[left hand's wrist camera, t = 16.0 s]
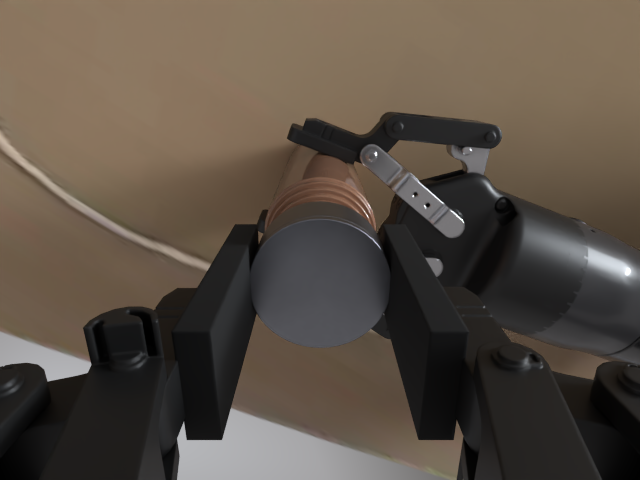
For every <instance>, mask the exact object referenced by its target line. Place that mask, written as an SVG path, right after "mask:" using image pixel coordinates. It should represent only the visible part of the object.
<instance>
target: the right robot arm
mask: <svg viewBox="0 0 640 480" xmlns="http://www.w3.org/2000/svg"><path fill="white" fill-rule="evenodd" d="M501 138H502V132H501V130H500V128H499V127H497V126H496V125H492V124H488V123H484V122H480V121H474V120H464V119H455V118H445V117H435V116H426V115H416V114H407V113H397V112H387V113H385V114H384V115H383V116H382V117H381V118H380V121H379V122H378V123H377V124H376V126H375V127H374V128H373V129H372V130H371V131H370V132H369V133H367V134H364V135H358V134H355V133H352V132H350V131H347V130H344V129H342V128H339V127H337V126H334V125H332V124H329V123H327V122H324V121H322V120H319V119H317V118H307V119H306V121H305V123H304V126H300V125H298V124H294V123H293V124H292V125H291V128H290V131H289V134H288V137H287V139H288V140H290V141H292V142H294V143H297V144H300V145H302V146H305V147H307V148H310V149H313V150H315V151H318V152H320V153H323V154H326V155H328V156H331V157H334V158H337V159H339V160H341V161H344V162H346V163H349V164H352V165H353V164H354V162H355V161H356V162H359V163H362V164H363V165H364V166H366V167H367V168H368V169H369V170H370V171H371V172H373V173H374V174H375V175H376V176H377V177H379V178H380V179H381V180H382V181H383V182H384V183H386V184H387V185H388V186H389V187H390V188H391V189H392V190H393V191H394V192H395V193H396V194H395V196H394V198H393V200H392V203H391V209H390V215H389V217H388V218H387V219H386V220H385V221H384V223H383V224H405V225H406V227H407V228H408V230H409V232H410V233H411V235H412V237H413V238H414V240H415V242H416V243H417V245H418V247H419V248H420V250H421V252H422V253H423V255H424V257H425V258H426V260H427V262H428V263H429V265H430V267H431V268H432V270H433V272H434V273H435V275H436V277H437V278H438V280H439V282H440V283H441V285H442V287H464V288H466V289H467V290H469V291H471V292H472V293H474V294H475V295H477V296H478V297H479V299H480V300H481V301H482V303H483V304H484V305H485V308H487V310H488V311H489V312H490V314H491V317H493V318H494V319H495V320H496V322H497V323H498V324H499V326H500V327H501V328H504V329H507V330H510V331H513V332H516V333H519V334H522V335H524V336H527V337H530V338H533V339H536V340H539V341H542V342H545V343H548V344H551V345H554V346H557V347H561V348H565V349H571V350H577V351H581V352H585V353H589V354H592V355H595V356H598V357H601V358H603V359H606V360H609V361H619V362H630V363H635V364H637V365H640V250H638V249H636V248H633V247H631V246H629V245H627V244H626V243H624V242H622V241H621V240H619V239H617V238H616V237H614V236H612V235H610V234H608V233H606V232H604V231H601V230H599V229H596V228H594V227H591V226H589V225H587V224H586V223H584V222H583V221H581V220H578V219H575V218H570V217H569V218H568V217H566V216H563V215H561V214H558V213H556V212H553V211H551V210H548V209H545V208H543V207H540V206H538V205H535V204H533V203H530V202H528V201H525V200H523V199H520V198H518V197H515V196H512V195H510V194H507V193H505V192H502V191H500V190H498V189H496V188H495V187H494V186H493V185H492V183H491V182H490V180H489V179H488V178H487V177H486V176H484V171H485V167H486V163H487V159H488V154H489V150H490V149H491V148H494V147H496V146H497V145H498V144H499V143H500V141H501ZM398 140H406V141H415V142H425V143H435V144H445V145H446V149H447V152H448V154H449V155H450V156H452V157H454V158H456V159H458V160H460V161H461V163H462V170H458V171H454V172H450V173H447V174H443V175H439V176H435V177H431V178H427V179H423V180H420V181H419V180H418V179H417V178H416V177H415V176H414V175H413V174H411V173H410V172H409V171H408V170H407V169H406V168H405V167H403V166H402V165H401V164H400V163H399V162H398V161H396V160H395V159H394V158H393V157H392V156H391V155H389V154H388V153H387V152H388V151H389V150H390V149H391V148H392V147H393V146H394V145H395V144H396V143H397V141H398ZM267 213H268V210H262V213H261V215H260V217H259V220H258V223H257V224H258V231H259V232H261V233H264V232H265V220H266V216H267ZM383 224H382V225H381V227H380V229H379V231H378V233H377V235H378V237H379V239H380V242H381V244H382V232H383ZM371 329H372V330H374V331H375V332H377V333H378V334H380V335H381V336H383V337H385V338H387V339H391V338H390V334H389V330H388V327H387V323H386V319H385V316H384V313H383V315H382V317H381V318H380V319H379V321H378V322H377V323H376V324H375V325H374V326H373V327H372V328H371Z"/></svg>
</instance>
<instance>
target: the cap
mask: <svg viewBox="0 0 640 480" xmlns="http://www.w3.org/2000/svg"><path fill="white" fill-rule="evenodd" d="M390 275H391V269H390V266H389V263H388V260H387V257H386V255H385V252H384V249H383V247H382V244H381V242H380V239H379V237H378V235H377V233H376V231H375V230H374V228H373V227H372V225H371V224H370V223H369V222H368V221H367V220H366V219H365V218H364V217H363V216H361V215H360V214H359V213H357V212H356V211H354V210H353V209H350V208H348V207H346V206H344V205H340V204H337V203H332V202H322V201H318V202H308V203H304V204H300V205H297V206H294V207H292V208H290V209H288V210H286V211H285V212H283V213H282V214H280V215H279V216H278V217H277V218H276V219H274V220H273V221H272V223H271V224H270V225H269V226H268V227H267V229H266V231H265V232H264V234H263V236H262V238H261V240H260V243H259V246H258V248H257V251H256V254H255V256H254V259H253V262H252V265H251V268H250V284H251V299H252V304H253V306H254V309H255V311H256V313H257V314H258V316H259V317H260V319H261V320H262V321H263V322H264V324H265V325H266V326H267V327H268V328H269V329H271V330H272V331H273V332H274V333H276V334H277V335H278V336H280V337H282V338H284V339H285V340H287V341H290V342H292V343H295V344H298V345H302V346H307V347H316V348H325V347H334V346H339V345H342V344H346V343H348V342H351V341H353V340H355V339H357V338H359V337H361V336H362V335H364V334H365V333H366V332H368V331H369V330H370V329H371V328H372V327H373V326H374V325H375V324H376V323H377V322H378V321H379V319H380V318H381V317H382V315H383V313H384V312H385V310H386V308H387V306H388V303H389V291H390Z"/></svg>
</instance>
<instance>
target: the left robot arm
mask: <svg viewBox="0 0 640 480" xmlns="http://www.w3.org/2000/svg"><path fill="white" fill-rule="evenodd" d="M258 246H259V242H258V224H235V226H234V227H233V229H232V231H231V232H230V234H229V236H228V237H227V239H226V241H225V242H224V244H223V246H222V247H221V249H220V251H219V253H218V254H217V256H216V258H215V259H214V261H213V263H212V264H211V266H210V268H209V269H208V271H207V273H206V274H205V276H204V278H203V279H202V281H201V283H200V284H199V286H198V288H177V289H175V290H174V291H172V292H171V293H169V294H167V295H166V296H164V297H163V298H162V300H161V301H160V302H159V304H158V305H157V307H156V310H154V311H153V310H152V309H149V308H145V307H124V308H119V309H114V310H111V311H108V312H105V313H103V314H100V315H99V316H97V317H95V318H93V319H92V320H90V321H89V322H88V323H87V324H86V325H85V326H84V328H83V329H84V334H85V338H86V342H87V347H88V351H89V355H90V360H91V364H92V365H91V367H90V370H89V372H88V373H87V374H82V375H79V376H74V377H69V378H64V379H59V380H54V381H49V382H47V379H46V375H45V371H44V369H43V368H41V367H40V366H39V365H37V364H31V363H21V364H10V365H6V366H4V367H3V366H2V367H0V480H177V473H178V465H179V450H178V444H177V437H178V434H179V432H180V429H181V427H182V424H183V422H184V423H185V430H186V437H187V440H222V438H223V434H224V430H225V427H226V423H227V419H228V416H229V412H230V409H231V405H232V401H233V398H234V394H235V390H236V387H237V383H238V379H239V376H240V372H241V368H242V365H243V361H244V357H245V354H246V350H247V347H248V343H249V339H250V336H251V332H252V328H253V325H254V321H255V317H256V314H257V313H256V311H255V309H254V306H253V304H252V299H251V284H250V268H251V265H252V262H253V259H254V256H255V254H256V251H257V248H258ZM382 247H383V249H384V252H385V255H386V257H387V260H388V263H389V266H390V269H391V275H390V291H389V303H388V306H387V308H386V310H385V312H384V316H385V319H386V323H387V327H388V330H389V334H390V338H391V341H392V345H393V349H394V352H395V356H396V359H397V363H398V367H399V370H400V374H401V378H402V381H403V385H404V389H405V392H406V396H407V400H408V403H409V407H410V410H411V414H412V418H413V421H414V425H415V429H416V432H417V436H418V440H454V434H455V427H456V420H457V421H458V424H459V426H460V429H461V431H462V434H463V436H464V437H463V443H462V449H461V456H460V462H459V469H458V475H457V480H640V365H637V364H635V363H630V362H619V361H612V362H605V363H602V364H601V365H600V366H599V367H597V370H596V374H595V377H594V380H591V379H586V378H581V377H576V376H571V375H566V374H561V373H557V372H554V371H551V369H550V367H549V365H548V363H547V362H546V361H545V359H544V358H543V357H542V356H541V355H540V354H538V353H537V352H535V351H534V350H532V349H530V348H528V347H525V346H523V345H521V344H518V343H513V342H511V341H510V339H509V338H508V337H507V335H506V334H505V333H504V331H503V330H502V329H501V327H500V326H499V324H498V323H497V322H496V320H495V319H494V318H493V317H491V314H490V312H489V311H488V310H487V308H485V305H484V304H483V303H482V301H481V300H480V299H479V297H478V296H477V295H475V294H474V293H472V292H471V291H469V290H467V289H466V288H464V287H442V285H441V283H440V282H439V280H438V278H437V277H436V275H435V273H434V272H433V270H432V268H431V267H430V265H429V263H428V262H427V260H426V258H425V257H424V255H423V253H422V252H421V250H420V248H419V247H418V245H417V243H416V242H415V240H414V238H413V237H412V235H411V233H410V232H409V230H408V228H407V227H406V225H405V224H383V232H382Z"/></svg>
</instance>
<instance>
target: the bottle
mask: <svg viewBox="0 0 640 480" xmlns="http://www.w3.org/2000/svg"><path fill="white" fill-rule="evenodd" d="M318 201H322V202H332V203H337V204H340V205H344V206H346V207H348V208H350V209H353V210H354V211H356V212H357V213H359V214H360V215H361V216H363V217H364V218H365V219H366V220H367V221H368V222H369V223H370V224H371V225H372V227H373V228H374V230H375V231H376V223H375V217H374V214H373V211H372V209H371V206H370V204H369V201H368V199H367V197H366V194H365V192H364V189H363V187H362V184H361V182H360V179H359V177H358V174H357V172H356V170H355V167H354V165H352V164H349V163H346V162H344V161H341V160H339V159H337V158H334V157H331V156H328V155H326V154H323V153H320V152H318V151H315V150H313V149H310V148H307V147H305V146H302V145H299V146H298V147H297V148H296V149H295V150H294V152H293V153H292V155H291V157H290V159H289V161H288V164H287V166H286V169H285V171H284V173H283V176H282V178H281V181H280V183H279V186H278V188H277V191H276V193H275V196H274V198H273V200H272V203H271V205H270V208H269V210H268V213H267V216H266V220H265V231H266V229H267V227H268V226H269V225H270V224H271V223H272V221H273V220H274V219H276V218H277V217H278V216H279V215H280V214H282V213H283V212H285V211H286V210H288V209H290V208H292V207H294V206H297V205H300V204H304V203H308V202H318Z"/></svg>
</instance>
